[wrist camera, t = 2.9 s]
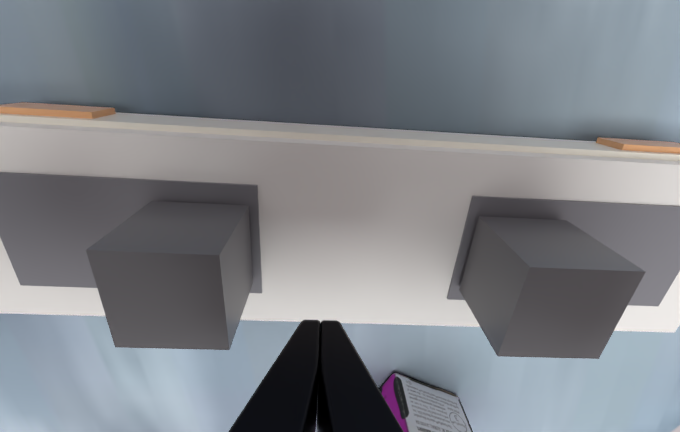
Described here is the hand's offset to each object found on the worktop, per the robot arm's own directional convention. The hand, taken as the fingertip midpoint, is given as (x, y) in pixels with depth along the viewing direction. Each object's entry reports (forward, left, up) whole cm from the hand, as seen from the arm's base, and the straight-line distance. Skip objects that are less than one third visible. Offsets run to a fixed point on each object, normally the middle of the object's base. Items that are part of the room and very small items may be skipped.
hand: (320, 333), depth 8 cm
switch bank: (0, -1, -7) cm, 7 cm away
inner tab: (0, +4, -4) cm, 6 cm away
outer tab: (0, -7, -4) cm, 8 cm away
